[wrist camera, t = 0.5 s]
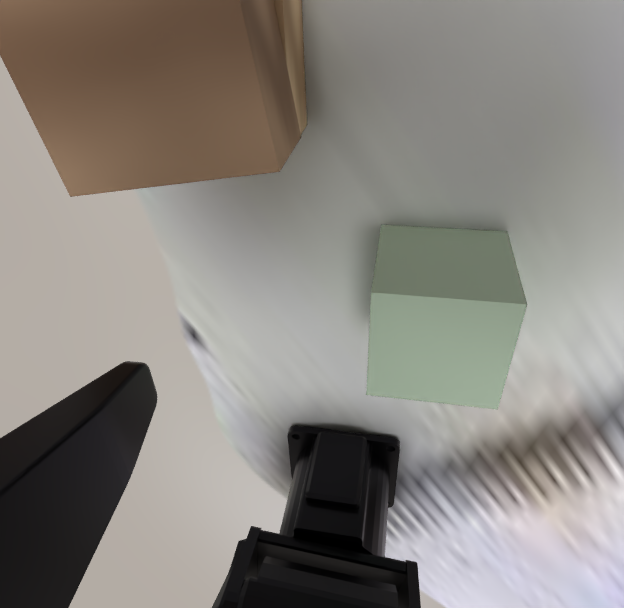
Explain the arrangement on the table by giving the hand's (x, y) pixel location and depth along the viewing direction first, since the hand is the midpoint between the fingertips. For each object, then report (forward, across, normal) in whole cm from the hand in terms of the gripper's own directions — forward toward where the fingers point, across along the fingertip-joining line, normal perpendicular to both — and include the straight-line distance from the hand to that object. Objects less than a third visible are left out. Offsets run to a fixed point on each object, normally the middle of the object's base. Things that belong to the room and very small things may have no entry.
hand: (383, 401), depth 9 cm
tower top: (+10, +7, -5) cm, 13 cm away
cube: (+13, -2, +5) cm, 14 cm away
